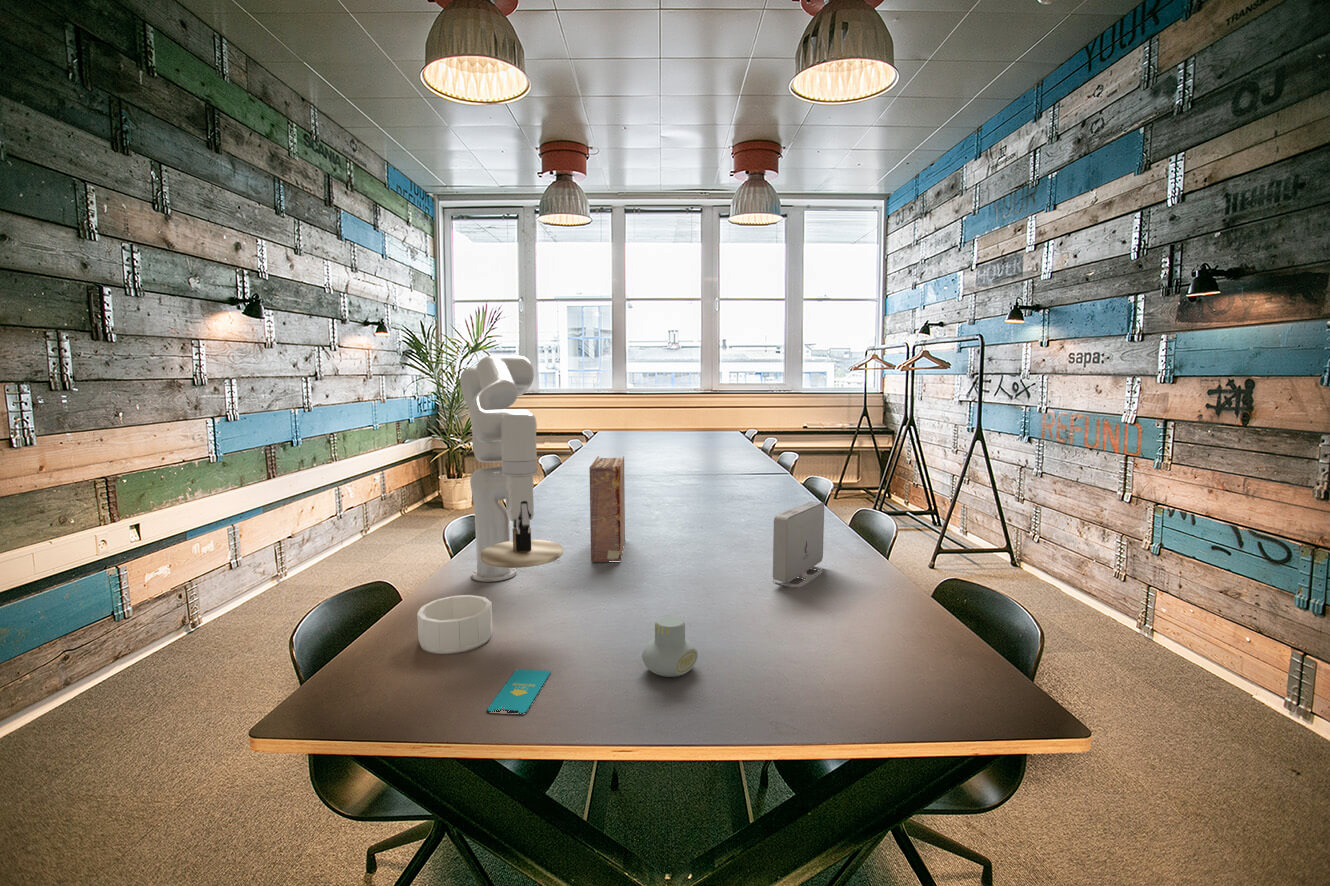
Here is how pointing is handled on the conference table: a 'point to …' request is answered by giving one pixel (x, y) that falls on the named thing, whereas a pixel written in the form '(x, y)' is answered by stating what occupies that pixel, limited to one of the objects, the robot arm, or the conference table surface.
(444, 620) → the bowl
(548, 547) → the lid
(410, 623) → the conference table surface
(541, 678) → the smartphone
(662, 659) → the air freshener
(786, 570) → the network device
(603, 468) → the book
